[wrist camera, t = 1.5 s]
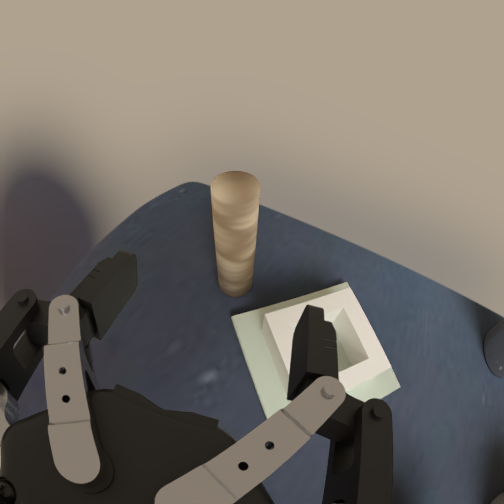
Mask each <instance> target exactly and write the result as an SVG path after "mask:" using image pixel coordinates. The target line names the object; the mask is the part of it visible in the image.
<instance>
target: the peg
mask: <svg viewBox="0 0 504 504" xmlns="http://www.w3.org/2000/svg"><path fill="white" fill-rule="evenodd" d="M259 199H260V182H259V181H258V179H257V178H255V176H253V175H251V174H249V173H246V172H242V171H230V172H225V173H222V174H220V175H218V176H217V177H216V178H214V179H213V181H212V183H211V201H212V214H213V226H214V238H215V250H216V261H217V271H218V281H219V287H220V289H221V291H222V292H223V293H224V294H226V295H228V296H231V297H240V296H243V295H245V294H247V293H248V292H249V291H250V289H251V287H252V281H253V270H254V258H255V246H256V235H257V223H258V211H259Z"/></svg>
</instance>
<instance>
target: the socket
mask: <svg viewBox="0 0 504 504" xmlns="http://www.w3.org/2000/svg"><path fill="white" fill-rule="evenodd" d="M307 304H308V305H312V306H316V307H320V308H323V309H324V320H325V321H329V322H332V324H333V326H334V328H335V330H336V336H337V342H336V343H337V353H338V375H339V381H340V382H341V383H342V385H343V386H344V388H345V391H346V393H347V394H349V395H350V396H352V397H354V398H357V399H359V400H361V401H363V402H366V401H367V400H369V399H372V398H378V399H381V398H383V397H384V396H386V395H388V394H390V393H391V392H393V391H395V390H396V389H398V388H400V385H399V383H398V380H397V378H396V376H395V374H394V372H393V370H392V368H391V365H390V363H389V361H388V359H387V357H386V355H385V353H384V351H383V349H382V347H381V345H380V343H379V341H378V339H377V337H376V335H375V333H374V331H373V329H372V327H371V325H370V323H369V321H368V319H367V317H366V316H365V314H364V312H363V310H362V308H361V306H360V304H359V302H358V301H357V299H356V297H355V295H354V293H353V292H352V290H351V288H350V287H349V285H348V283H347V282H345V283H342V284H339V285H336V286H333V287H330V288H327V289H323V290H320V291H317V292H314V293H311V294H307V295H304V296H301V297H298V298H294V299H291V300H288V301H284V302H281V303H277V304H274V305H270V306H267V307H263V308H260V309H256V310H253V311H249V312H245V313H242V314H238V315H234V316H231V319H232V323H233V326H234V329H235V332H236V335H237V338H238V341H239V344H240V346H241V349H242V352H243V355H244V358H245V361H246V364H247V367H248V370H249V372H250V375H251V378H252V381H253V384H254V387H255V389H256V392H257V395H258V398H259V400H260V403H261V406H262V408H263V411H264V414H265V416H266V419H268V418H269V417H271V416H272V415H273V414H274V413H276V412H277V411H278V410H280V409H283V408H285V407H286V406H287V405H288V404H289V403H291V402H292V401H290V400H287V392H288V382H289V372H290V362H291V351H292V339H293V334H294V331H295V328H296V326H297V323H298V321H299V319H300V317H301V315H302V313H303V311H304V309H305V307H306V305H307Z"/></svg>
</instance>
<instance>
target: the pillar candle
mask: <svg viewBox="0 0 504 504" xmlns="http://www.w3.org/2000/svg"><path fill="white" fill-rule="evenodd" d="M490 504H504V492H502V493H501V494H499V495H498V496H497V497H496V498H495V499H494V500H493V501H492V502H491V503H490Z"/></svg>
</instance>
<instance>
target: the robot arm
mask: <svg viewBox="0 0 504 504" xmlns="http://www.w3.org/2000/svg"><path fill="white" fill-rule="evenodd" d="M136 286H137V259H136V255H135V254H132V253H129V252H125V251H122V250H120V251H119V252H118V253H117V254H116V255H115V256H114V257H113V258H107V259H105V260H103V261H101V262H99V263H98V264H97V266H96V267H95V268H94V269H93V270H92V271H91V272H90V273H89V274H88V276H86V277H85V278H84V280H83V281H82V282H81V283H80V284H79V285H78V286H77V287H76V288H75V290H74V291H73V292H72V293H71V294H70V295H62V296H58V297H56V298H55V299H54V300H53V301H52V302H50V301H42V300H37V297H36V295H35V293H34V292H33V291H32V290H29V289H23V290H20V291H18V292H17V293H15V294H14V296H12V298H11V299H10V300H9V301H8V302H7V304H6V305H5V306H4V307H3V308H2V310H1V311H0V447H1V468H0V504H274V502H273V500H272V499H271V497H270V495H269V494H268V492H267V491H266V489H265V487H264V486H263V484H262V481H263V480H264V479H265V478H267V477H268V476H269V475H270V474H272V473H273V472H274V471H275V470H276V469H277V468H279V467H280V466H281V465H282V464H283V463H284V462H285V461H286V460H288V459H289V458H290V457H291V456H292V455H293V454H294V453H295V452H296V451H297V450H298V449H300V448H301V447H302V446H303V445H304V444H305V443H306V442H307V441H308V440H309V439H310V438H311V437H312V435H313V434H314V433H317V434H319V435H321V436H323V437H326V438H328V439H330V450H329V459H328V467H327V474H326V482H325V488H324V495H323V501H322V504H391V501H392V482H393V431H392V413H391V409H390V407H389V406H388V404H387V403H386V402H384V401H383V400H381V399H378V398H372V399H369V400H367V401H366V402H363V401H361V400H359V399H357V398H354V397H352V396H350V395H349V394H347V393H346V391H345V388H344V386H343V385H342V383H341V382H340V381H339V375H338V353H337V343H336V342H337V336H336V330H335V328H334V326H333V324H332V322H329V321H325V320H324V309H323V308H320V307H316V306H312V305H308V304H307V305H306V307H305V309H304V311H303V313H302V315H301V317H300V319H299V321H298V323H297V326H296V328H295V331H294V334H293V339H292V351H291V362H290V372H289V382H288V392H287V400H290V401H292V402H291V403H289V404H288V405H287V406H286V407H285V408H283V409H280V410H278V411H277V412H276V413H274V414H273V415H272V416H271V417H269V418H268V419H267V420H266V421H264V422H263V423H262V424H261V425H259V426H258V427H257V428H255V429H254V430H253V431H251V432H250V433H249V434H247V435H246V436H245V437H243V438H242V439H241V440H239V441H238V442H237V441H236V439H235V438H234V437H233V436H231V435H230V434H229V433H228V432H226V431H225V430H223V429H222V428H220V427H218V426H217V425H218V422H219V420H217V419H213V418H209V417H206V416H202V415H199V414H196V413H192V412H181V411H171V410H164V409H162V408H160V407H159V406H157V405H155V404H154V403H152V402H151V401H150V400H148V399H147V398H145V397H144V396H142V395H141V394H139V393H137V392H134V391H132V390H129V389H127V388H125V387H122V386H120V385H118V384H117V385H116V387H115V389H114V390H111V389H99V386H98V383H97V380H96V376H95V370H94V364H93V358H92V351H91V344H90V340H91V339H92V337H95V338H97V339H100V340H101V339H102V338H103V336H104V335H105V333H106V332H107V330H108V329H109V327H110V326H111V324H112V323H113V321H114V320H115V318H116V317H117V315H118V314H119V313H120V311H121V310H122V308H123V307H124V305H125V304H126V302H127V301H128V300H129V298H130V297H131V295H132V294H133V293H134V291H135V289H136ZM23 331H24V335H23V336H22V338H21V339H20V341H19V342H18V343H17V345H16V346H15V348H14V349H13V347H14V344H15V342H16V341H17V339H18V338H19V337H20V335H21V334H22V332H23ZM484 353H485V358H486V361H487V364H488V366H489V368H490V370H491V371H492V372H493V374H495V375H496V376H498V377H501V378H503V377H504V319H503V320H502V321H500V322H499V323H498V324H497V325H495V326H494V327H493V328H491V329H490V330H489V331H488V333H487V334H486V337H485V341H484ZM43 356H44V372H45V387H46V398H47V407H48V409H47V410H44V411H42V412H39V413H37V414H34V415H32V416H29V417H27V418H24V419H21V420H19V421H17V420H18V419H19V414H18V403H17V401H18V399H19V397H20V395H21V393H22V392H23V390H24V388H25V386H26V384H27V383H28V381H29V379H30V377H31V376H32V374H33V372H34V371H35V369H36V367H37V366H38V364H39V362H40V361H41V359H42V357H43Z"/></svg>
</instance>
